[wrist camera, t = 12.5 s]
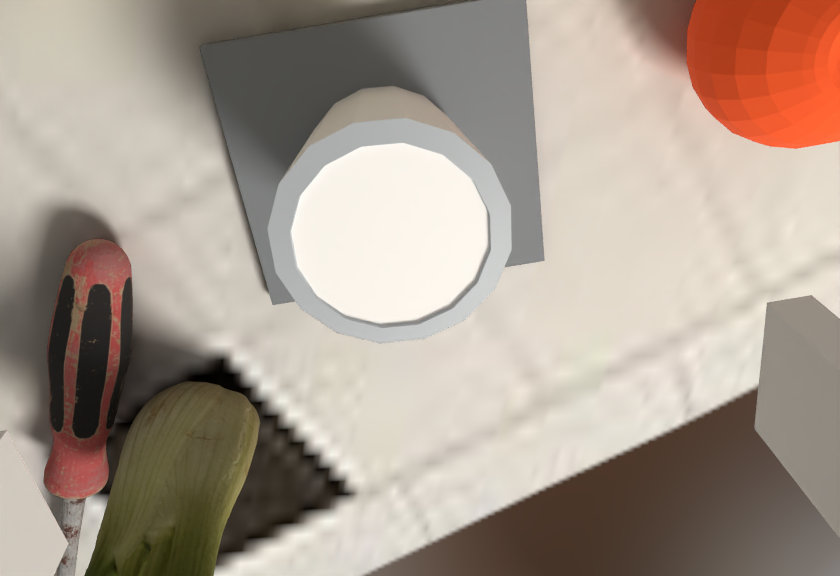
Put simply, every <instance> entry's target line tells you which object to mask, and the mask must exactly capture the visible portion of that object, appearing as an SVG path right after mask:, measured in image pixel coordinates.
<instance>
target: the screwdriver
mask: <svg viewBox="0 0 840 576" xmlns="http://www.w3.org/2000/svg"><path fill="white" fill-rule="evenodd" d="M132 331H133V298H132V274H131V265H130V262H129V259H128V257H127V255H126V254H125V252H124V251H123V250H122V249H121V248H120V247H119V246H118V245H117V244H116V243H114V242H111V241H109V240H105V239H91V240H87V241H85V242H83V243H82V244H80V245H78V246H77V247H76V248H75V249H74V250H73V251H72V252H71V254H70V255H69V257H68V259H67V261H66V264H65V267H64V271H63V274H62V278H61V282H60V286H59V290H58V294H57V298H56V303H55V307H54V312H53V317H52V321H51V326H50V332H49V338H48V346H47V362H48V372H49V385H50V404H49V420H50V426H51V430H52V433H53V441H54V444H53V448H52V452H51V455H50V457H49V460H48V462H47V465H46V467H45V472H44V484H45V487H46V488H47V490H48V491H49V492H50V493H52V494H54V495H55V496H58V497H61V498H62V499H63V500H62V521H61V531H62V532H63V534H64V536H65V538H66V540H67V542H68V543H69V544H68V546H67V548H66V550H65V552H64V554H63V557H62V559H61V561H60V563H59V565H58V572H57V576H75V568H76V559H77V551H78V542H79V535H80V529H81V524H82V518H83V512H84V506H85V500H86V498H87V497H89V496H91V495H94V494H95V493H97V492H99V491H100V490H101V489H102V488H103V487H104V486H105V484H106V483H107V480H108V473H109V465H108V460H107V455H106V441H107V437H108V435H109V433H110V431H111V429H112V426H113V424H114V421H115V417H116V413H117V408H118V402H119V397H120V392H121V387H122V384H123V380H124V377H125V373H126V370H127V367H128V364H129V360H130V355H131V350H132Z"/></svg>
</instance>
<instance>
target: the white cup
mask: <svg viewBox="0 0 840 576" xmlns="http://www.w3.org/2000/svg"><path fill="white" fill-rule="evenodd" d="M267 230H268V235H269V240H270V246H271V251H272V256H273V261H274V267H275V272H276V274H277V275H278V277H279V278H280V280H281V281H282V283H283V284H284V285H285V287H286V288H287V290H288V291H289V293H290V294H291V296H292V297H293V299H294V300H295V301H296V303H297V304H298V306H299V307H300V309H302V310H303V311H305V312H306V313H308V314H309V315H311V316H312V317H314V318H315V319H317V320H318V321H320V322H321V323H323V324H324V325H326V326H327V327H329V328H330V329H332V330H333V331H335V332H336V333H339V334H343V335H347V336H351V337H355V338H360V339H364V340H368V341H372V342H376V343H390V342H400V341H410V340H420V339H425V338H428V337H430V336H432V335H434V334H436V333H438V332H441V331H443V330H445V329H447V328H449V327H451V326H453V325H456V324H458V323H460V322H462V321H464V320H465V319H466V318H467V317H468V316H469V315H470V314H471V313H472V312H473V311H474V310H475V309H476V308H477V307H478V306H479V305H480V304H481V303H482V302H483V301H484V300H485V299H486V298H487V297H488V296H489V295H490V294H491V293H492V292H493V291H494V290H495V288H496V286H497V283H498V281H499V279H500V276H501V274H502V271H503V269H504V267H505V264H506V262H507V260H508V257H509V255H510V252H511V250H512V242H511V205H510V203H509V201H508V198H507V196H506V194H505V192H504V190H503V188H502V186H501V184H500V182H499V179H498V177H497V175H496V173H495V171H494V169H493V167H492V165H491V164H490V162H489V161H488V160H487V159H486V158H485V157H484V156H483V155H482V154H481V152H480V151H479V150H478V149H477V148H476V147H475V146H474V145H473V144H472V143H471V141H470V140H469V139H468V138H467V137H466V136H465V135H464V134H463V133H462V132H461V130H460V129H459V128H458V127H457V126H456V125H455V124H454V123H453V122H452V121H451V119H450V118H449V117H448V116H447V115H446V114H445V113H443V112H442V111H441V110H440V109H439V108H438V107H437V106H435V105H434V104H433V103H432V102H431V101H430V100H428V99H427V98H426V97H425V96H424V95H421V94H418V93H415V92H411V91H408V90H405V89H402V88H399V87H396V86H386V87H375V88H364V89H361V90H359V91H357V92H355V93H353V94H351V95H350V96H348V97H346V98H344V99H342V100H340V101H338V102H336V103H335V104H334V105H333V106H332V107H331V109H330V110H329V111H328V112H327V114H326V115H325V116H324V118H323V119H322V120H321V121H320V123H319V124H318V125H317V126H316V128H315V129H314V131H313V132H312V134H311V135H310V137H309V138H308V140H307V141H306V143H305V145H304V146H303V148H302V149H301V151H300V152H299V154H298V155H297V157H296V158H295V160H294V161H293V163H292V164H291V166H290V168H289V169H288V171H287V172H286V174H285V175H284V177H283V178H282V180H281V181H280V183H279V184H278V188H277V192H276V196H275V200H274V204H273V208H272V212H271V216H270V220H269V224H268V228H267Z"/></svg>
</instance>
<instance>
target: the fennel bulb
mask: <svg viewBox="0 0 840 576" xmlns="http://www.w3.org/2000/svg"><path fill="white" fill-rule="evenodd" d="M259 424H260V422H259V417H258V414H257V411H256V410H255V408H254V406H253V405H252V404H251V403H250V402H249V401H248V399H247V398H246V396H244V395H243V394H241V393H238V392H235V391H231V390H228V389H225V388H223V387H221V386H220V385H215V384H211V383H207V382H190V381H188V382H187V381H186V382H183V383H180V384H177V385H174V386H172V387H169V388H167V389H165V390H163V391H161V392H160V393H158V394H156V395H155V396H154V397H153V398H151V399H150V400H149V401H148V402H147V403H146V404H145V405H144V406H143V408H142V409H141V410H140V411H139V413H138V414H137V416H136V417H135V419H134V421H133V423H132V425H131V427H130V429H129V432H128V434H127V437H126V440H125V442H124V445H123V449H122V453H121V456H120V460H119V464H118V468H117V471H116V474H115V478H114V481H113V485H112V488H111V492H110V495H109V499H108V503H107V506H106V510H105V513H104V517H103V520H102V523H101V527H100V530H99V533H98V536H97V540H96V545H95V549H94V551H93V554H92V558H91V561H90V563H89V566H88V568H87V570H86V573H85V575H84V576H213V575H214V570H215V565H216V558H217V553H218V550H219V545H220V541H221V537H222V533H223V530H224V527H225V524H226V522H227V519H228V517H229V515H230V512H231V510H232V508H233V505H234V503H235V501H236V499H237V496H238V495H239V492H240V490H241V488H242V486H243V484H244V482H245V479H246V476H247V474H248V470H249V468H250V464H251V461H252V457H253V454H254V451H255V447H256V444H257V439H258V430H259Z"/></svg>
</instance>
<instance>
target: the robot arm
mask: <svg viewBox="0 0 840 576" xmlns="http://www.w3.org/2000/svg"><path fill="white" fill-rule="evenodd" d="M755 430H756V431H757V432H758V433H759V435H760V436H761V437H762V439H763V440H764V441H765V443H766V444H767V445H768V446H769V448H770V449H771V450H772V452H773V453H774V454H775V455H776V456H777V458H778V459H779V461H780V462H781V463H782V464H783V466H784V467H785V468H786V470H787V471H788V472H789V473H790V475H791V476H792V477H793V479H794V480H795V481H796V482H797V484H798V485H799V486H800V487H801V489H802V490H803V491H804V493H805V494H806V495H807V497H808V498H809V499H810V500H811V502H812V503H813V504H814V506H815V507H816V508H817V510H818V511H819V512H820V513H821V515H822V516H823V517H824V519H825V520H826V521H827V522H828V524H829V525H830V526H831V528H832V529H833V530H834V531H835V533H836V534H837V535H838V537H839V538H840V319H839V318H838V317H837V316H836V315H834V314H833V313H832V312H831V311H830V310H828V309H827V308H826V307H825V306H824V305H822V304H821V303H820V302H819V301H818V300H816V299H815V298H814V297H813V296H812V295H810V296H805V297H799V298H793V299H787V300H781V301H775V302H769V303H767V309H766V319H765V329H764V339H763V349H762V359H761V369H760V378H759V388H758V398H757V408H756V418H755ZM68 544H69V543H68V542H67V540H66V538H65V536H64V534H63V532H62V531H61V529H60V527H59V525H58V523H57V521H56V520H55V518H54V516H53V514H52V512H51V510H50V508H49V507H48V505H47V503H46V501H45V499H44V497H43V496H42V494H41V492H40V490H39V488H38V486H37V485H36V483H35V481H34V479H33V477H32V475H31V474H30V472H29V470H28V468H27V466H26V464H25V463H24V461H23V459H22V457H21V455H20V453H19V452H18V450H17V448H16V446H15V444H14V442H13V441H12V439H11V437H10V435H9V433H8V431H7V430H6V431H0V576H54V574H55V572H56V570H57V567H58V565H59V563H60V561H61V559H62V557H63V554H64V552H65V550H66V548H67V546H68Z"/></svg>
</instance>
